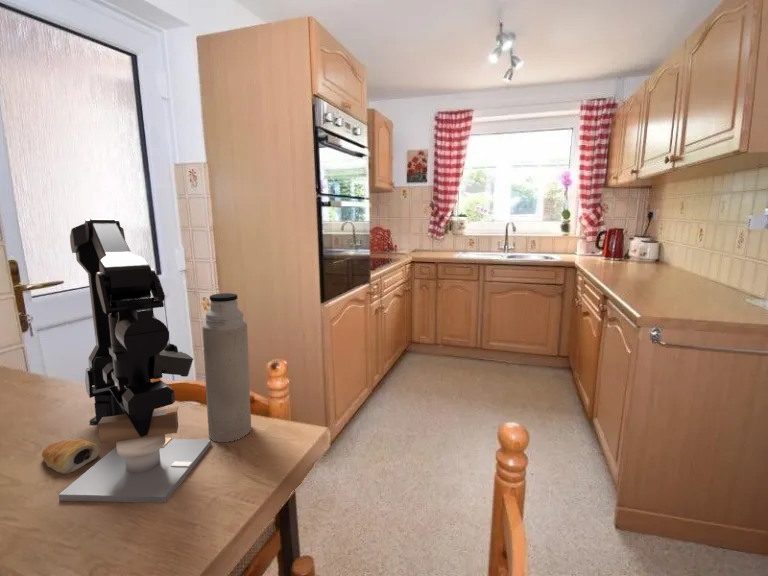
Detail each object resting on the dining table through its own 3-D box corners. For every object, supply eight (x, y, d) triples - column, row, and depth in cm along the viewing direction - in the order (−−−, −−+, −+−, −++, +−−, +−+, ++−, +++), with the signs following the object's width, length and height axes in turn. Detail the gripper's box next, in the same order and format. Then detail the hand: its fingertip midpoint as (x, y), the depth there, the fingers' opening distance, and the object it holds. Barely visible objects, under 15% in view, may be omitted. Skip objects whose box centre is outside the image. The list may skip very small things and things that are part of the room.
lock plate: (127, 442, 77) (125, 423, 76) (211, 444, 77) (210, 424, 76) (59, 500, 61) (56, 476, 60) (165, 502, 61) (163, 478, 60)
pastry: (29, 464, 70) (27, 444, 69) (71, 445, 76) (69, 426, 75) (65, 478, 66) (63, 456, 66) (106, 456, 73) (104, 436, 72)
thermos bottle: (221, 420, 86) (214, 290, 81) (257, 423, 85) (252, 291, 80) (200, 441, 78) (191, 297, 73) (240, 443, 77) (234, 299, 72)
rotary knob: (109, 440, 69) (106, 409, 68) (182, 430, 73) (179, 400, 72) (96, 463, 63) (92, 429, 62) (177, 451, 67) (174, 418, 66)
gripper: (206, 344, 64) (211, 436, 67) (168, 322, 77) (174, 399, 80) (124, 360, 56) (134, 463, 59) (97, 332, 69) (106, 417, 72)
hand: (140, 431), depth 68 cm, fingers closed on rotary knob, 3 cm apart
